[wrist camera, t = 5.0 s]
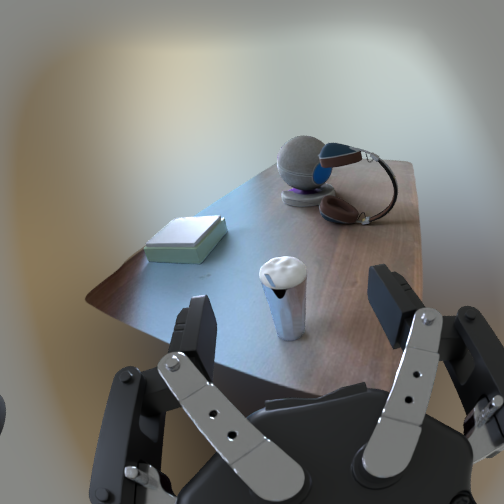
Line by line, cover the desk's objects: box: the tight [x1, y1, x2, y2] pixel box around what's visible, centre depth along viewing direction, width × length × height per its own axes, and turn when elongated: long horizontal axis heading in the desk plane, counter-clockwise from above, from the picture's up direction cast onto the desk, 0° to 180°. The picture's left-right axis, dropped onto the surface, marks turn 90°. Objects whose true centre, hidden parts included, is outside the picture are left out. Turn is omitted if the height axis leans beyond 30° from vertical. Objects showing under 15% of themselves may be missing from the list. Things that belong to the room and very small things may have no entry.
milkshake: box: [259, 256, 307, 341], centre depth 28 cm, size 4×5×10 cm
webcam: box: [277, 136, 335, 207], centre depth 62 cm, size 13×13×15 cm
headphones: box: [288, 143, 398, 225], centre depth 48 cm, size 6×15×22 cm
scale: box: [144, 216, 227, 264], centre depth 53 cm, size 12×12×4 cm
